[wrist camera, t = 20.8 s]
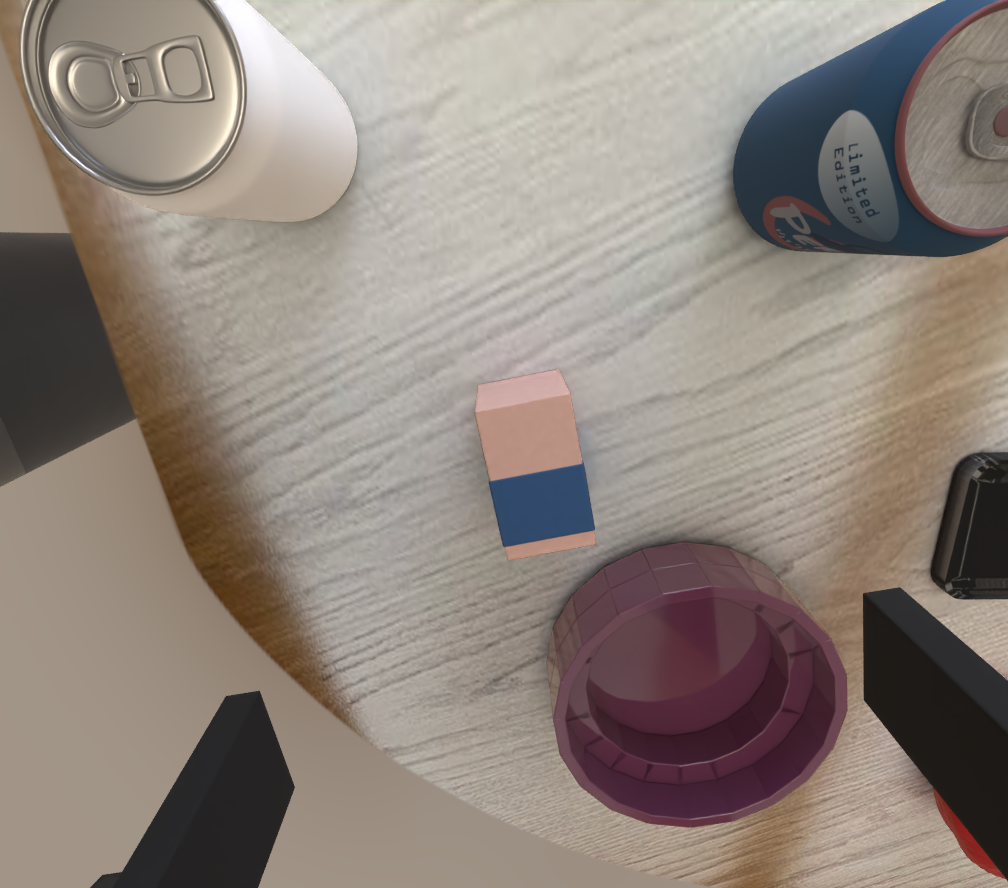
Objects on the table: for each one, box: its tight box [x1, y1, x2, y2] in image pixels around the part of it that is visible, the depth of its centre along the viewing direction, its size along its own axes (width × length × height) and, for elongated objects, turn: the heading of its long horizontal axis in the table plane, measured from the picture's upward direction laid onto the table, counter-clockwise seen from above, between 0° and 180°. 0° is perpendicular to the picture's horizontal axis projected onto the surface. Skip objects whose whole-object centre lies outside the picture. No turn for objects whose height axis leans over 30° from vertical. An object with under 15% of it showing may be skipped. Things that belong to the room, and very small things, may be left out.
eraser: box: [475, 369, 596, 560], centre depth 29 cm, size 4×7×5 cm, turn 11°
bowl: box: [547, 542, 847, 828], centre depth 33 cm, size 14×14×5 cm
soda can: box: [733, 0, 1008, 257], centre depth 22 cm, size 7×7×12 cm
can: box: [19, 0, 357, 222], centre depth 22 cm, size 6×6×12 cm
